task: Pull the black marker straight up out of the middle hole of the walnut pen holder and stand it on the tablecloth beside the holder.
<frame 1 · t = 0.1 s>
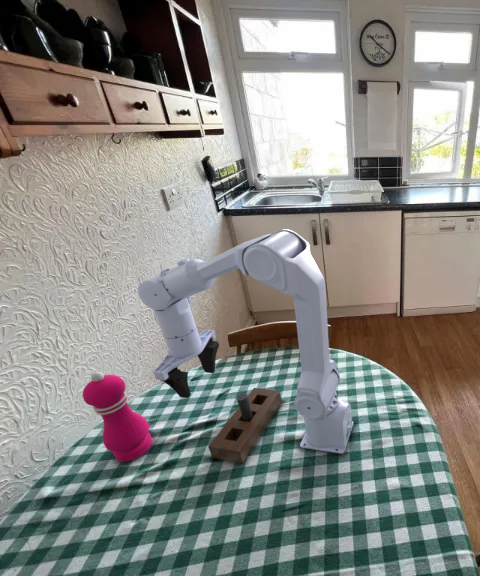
hand: (198, 383, 68), 10 cm above the table, tool pointing down, fingers open, 7 cm apart
pepper mill: (135, 449, 65), on the table
holder: (250, 427, 69), on the table
marker: (246, 412, 67), in the holder
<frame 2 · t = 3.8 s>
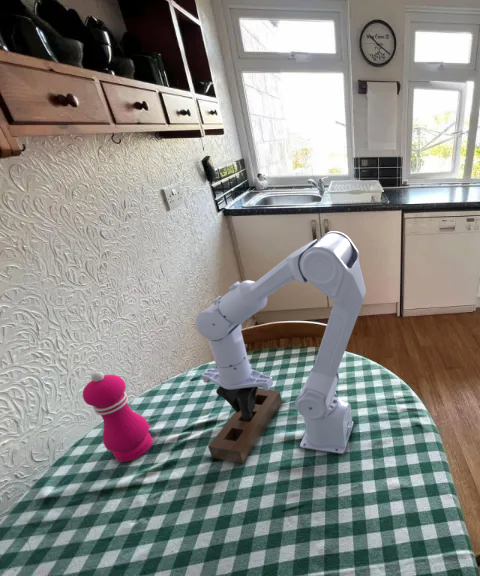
hand: (245, 409, 67), 5 cm above the table, tool pointing down, fingers closed on marker, 2 cm apart
marker: (246, 412, 67), in the holder, touching gripper
everything else where it was.
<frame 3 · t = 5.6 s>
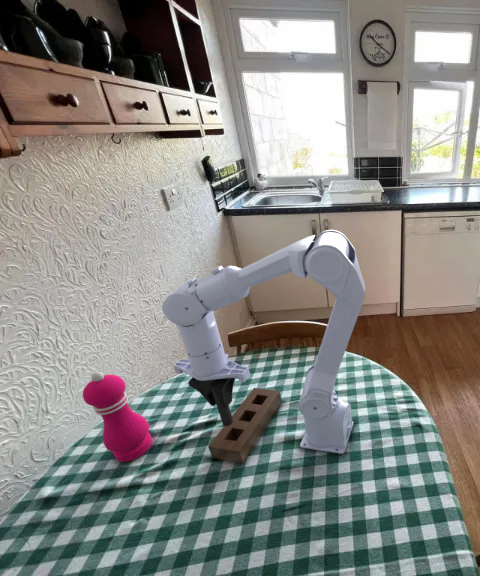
hand: (221, 403, 62), 10 cm above the table, tool pointing down, fingers closed on marker
marker: (223, 406, 63), point 10 cm above the table, touching gripper
everything else where it was.
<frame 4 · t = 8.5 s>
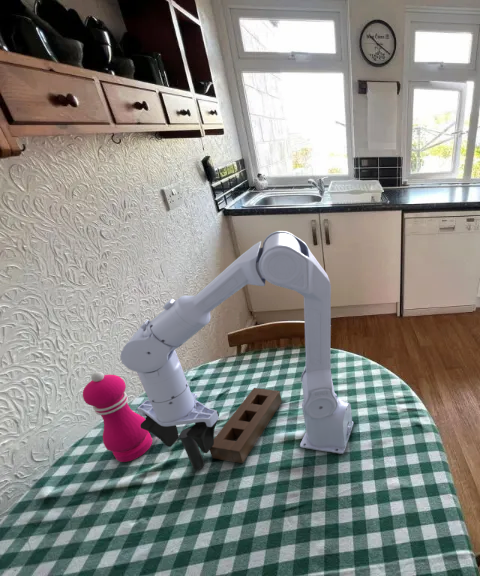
hand: (190, 445, 59), 6 cm above the table, tool pointing down, fingers open, 7 cm apart
marker: (192, 449, 59), on the table
everything else where it was.
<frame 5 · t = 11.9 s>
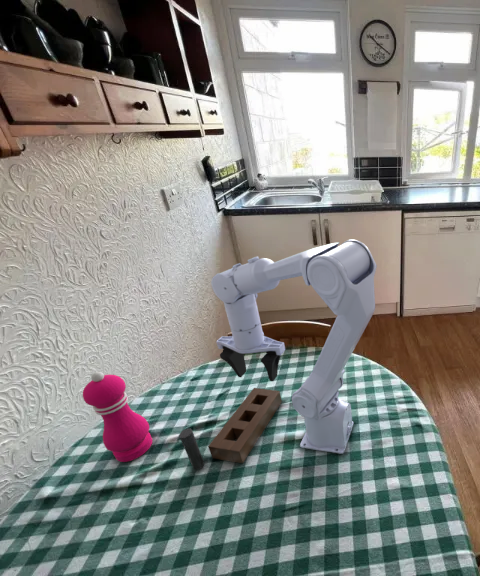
hand: (258, 376, 69), 10 cm above the table, tool pointing down, fingers open, 7 cm apart
nothing on the table moved.
at the end: marker inside the target area (0.0 cm from its centre), on the table; marker touching table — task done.
